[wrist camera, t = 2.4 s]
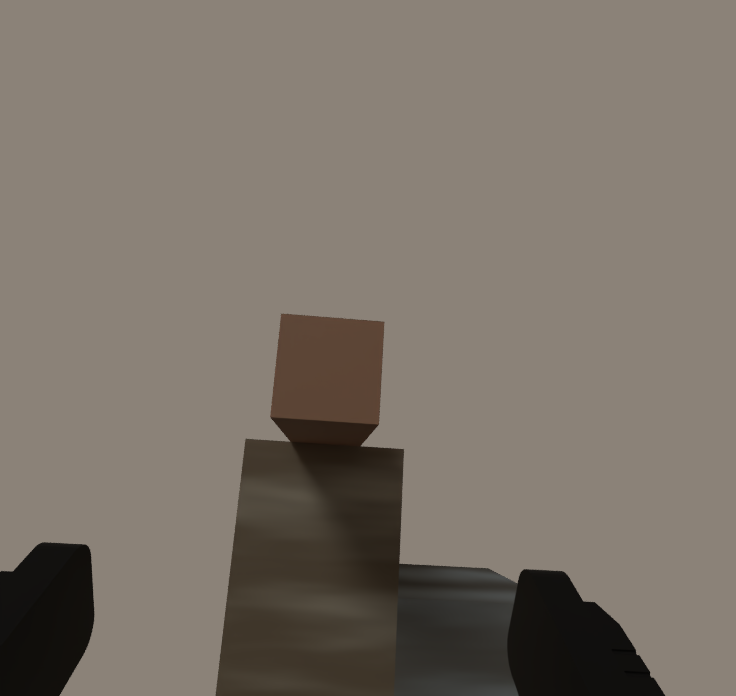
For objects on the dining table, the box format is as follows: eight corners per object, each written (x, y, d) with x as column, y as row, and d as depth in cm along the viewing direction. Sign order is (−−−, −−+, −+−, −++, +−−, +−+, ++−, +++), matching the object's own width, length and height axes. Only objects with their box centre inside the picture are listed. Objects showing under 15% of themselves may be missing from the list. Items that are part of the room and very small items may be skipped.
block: (379, 424, 17) (384, 321, 18) (270, 417, 17) (281, 313, 18) (347, 460, 42) (350, 416, 43) (303, 457, 42) (307, 413, 43)
